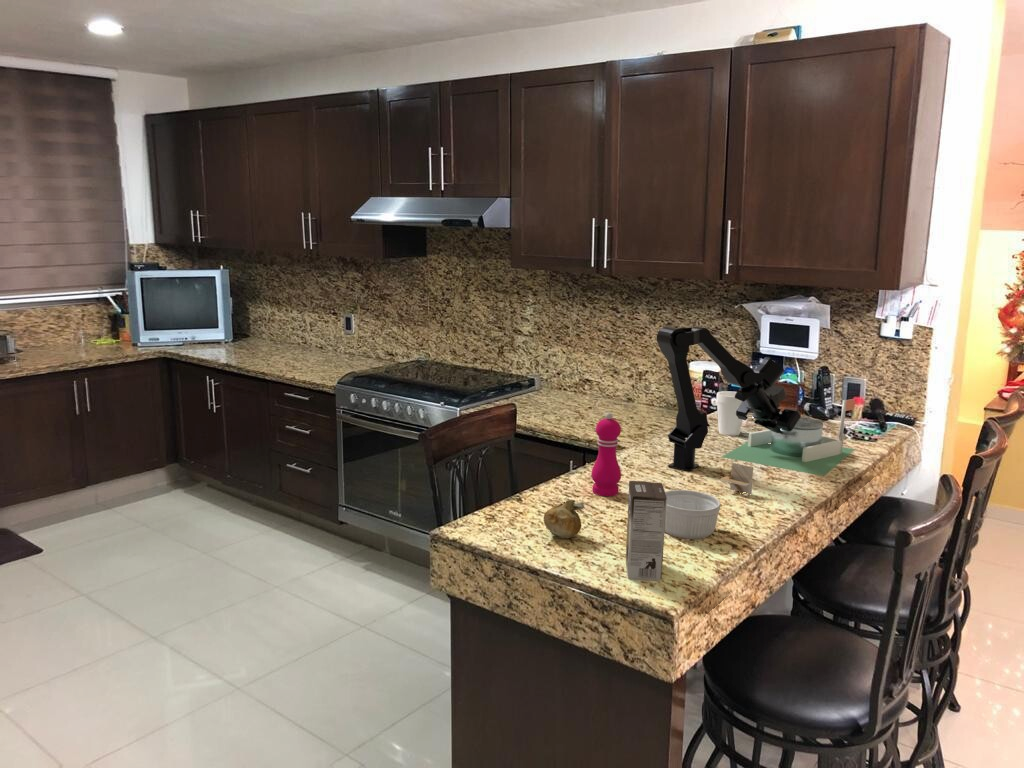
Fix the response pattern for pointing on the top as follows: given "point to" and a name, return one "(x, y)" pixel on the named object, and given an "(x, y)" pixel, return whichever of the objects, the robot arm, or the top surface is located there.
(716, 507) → the ramekin
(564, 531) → the onion
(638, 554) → the coffee box
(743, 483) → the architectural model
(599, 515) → the top surface
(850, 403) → the beige thin-walled piece
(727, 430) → the foam cup
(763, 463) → the green mat
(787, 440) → the chrome metal canister
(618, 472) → the pepper mill
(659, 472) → the top surface
